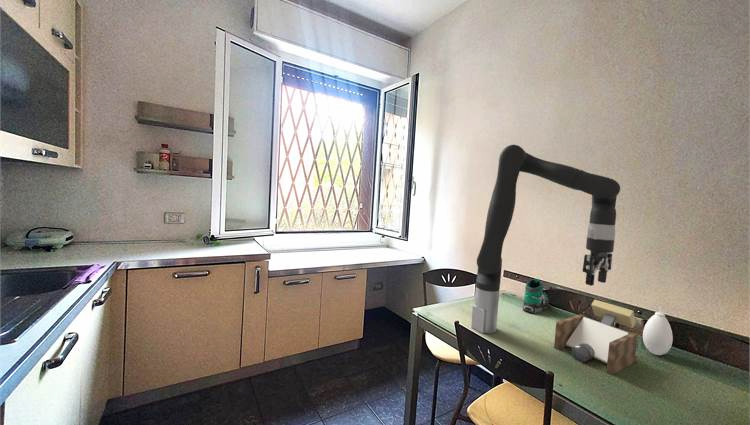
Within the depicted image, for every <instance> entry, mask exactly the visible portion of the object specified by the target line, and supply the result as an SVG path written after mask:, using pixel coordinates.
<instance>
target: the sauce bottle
mask: <svg viewBox="0 0 750 425" xmlns="http://www.w3.org/2000/svg"><path fill="white" fill-rule="evenodd" d="M642 340H643V341H642V342H643V344H644V346H645V348H646V349H647V350H648V351H649V353H651V354H653V355H655V356H662V355H665V354H667V353H668V352H669V351H670V349H671V347H672V345H673V340H674V337H673V331H672V328H671V325H670V323H669V320H668V319H667V317H666V314H665V313H663V312H662V306H661V305H660V307H659V311H656V312H654V314H653V315H651V317H650V318H648V320H647V321H646V323H645V325H644V327H643V332H642Z"/></svg>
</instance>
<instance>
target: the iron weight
mask: <svg viewBox="0 0 750 425" xmlns="http://www.w3.org/2000/svg"><path fill="white" fill-rule="evenodd" d="M570 352H571V356H572V357H573V359H574V360H576V361H578V362H579V363H585V362H587V361H590V360H591V359H593V358H594V356H595V352H594V349H593V348H592V347H591V346H590V345H588V344H586V343H582V344H580V345H577V346H575V347H573V348H571V351H570Z"/></svg>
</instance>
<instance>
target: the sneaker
mask: <svg viewBox="0 0 750 425" xmlns="http://www.w3.org/2000/svg"><path fill="white" fill-rule="evenodd" d="M524 289H525V290H524V297H523V305H522V310H523V311H525V312H528V313H532V314H535V315H537V314H540V313H541V312H542V311H545V310H547V309H548V308H549V306H550V300H549V296H548V295H547V293H546V292H544V285H543V284H542V282H541V281H540V280H539V279H535V278H534V279H530V280H529V282H527V283H526V284H525V287H524ZM543 292H544V293H543ZM545 293H546V294H545ZM547 296H548V297H547Z"/></svg>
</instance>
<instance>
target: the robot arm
mask: <svg viewBox="0 0 750 425" xmlns="http://www.w3.org/2000/svg"><path fill="white" fill-rule="evenodd" d="M520 172H521V173H527V174H530V175H534V176H536V177H540V178H542V179H545V180H547V181H550V182H552V183H555V184H558V185H560V186H563V187H566V188H568V189H571V190H574V191H580V192H583V193H585V194H588V195H591V210H590V214H589V222H588V228H587V234H586V235H587V236H586V242H585V244H586V245H585V248H586V249H587V251H590V253H589V254H584V258H583V265H582V272H583V273H585V284H586V285H588V286H594V285H595V276H596V272H597V271H598V275H597V281H598V282H599V283H603V284H604V283H606V282H607V276H608V273H609V271H611V270H612V261H613V254H612V253H613V252H614V249H615V238H616V220H617V210H616V206H617V205H616V204H617V199H618V198H617V196H618V195H619V194H620V192H621V185H620V183H619V182H618V181H616V180H615V179H613V178H610V177H607V176H603V175H600V174H595V173H590V172H587V171H585V170H582V169H579V168H576V167H573V166H569V165H567V164H562V163H559V162H553V161H548V160H544V159H541V158H538V157H537V156H534V155H531V154H530V153H528V152H526V151H525V150H524V148H523V147H521V146H520V145H518V144H510V145H507V146H506V147H504V148H503V149H502V150H501V152H500V154H499V156H498V167H497V174H496V180H495V184H494V187H493V191H492V195H491V198H490V202H489V206H488V210H487V216H486V220H485V221H486V222H485V227H484V236H483V241H482V244H481V247H480V250H479V253H478V255H477V258H476V266H477V274H476V280H475V293H474V304H473V305H472V311H471V312H472V313H471V325H470V326H471V328H472V329H474V330H476V331H477V332H479V333H481V334H495V333H496V332H497V328H498V327H497V326H498V315H499V300H500V291H501V289H500V288H501V280H502V279H501V278H502V268H503V258H502V252H503V245H504V242H505V239H506V236H507V234H508V232H509V230H510V226H511V223H512V220H513V216H514V212H515V207H516V197H517V195H516V194H517V181H518V179H519V175H520Z"/></svg>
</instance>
